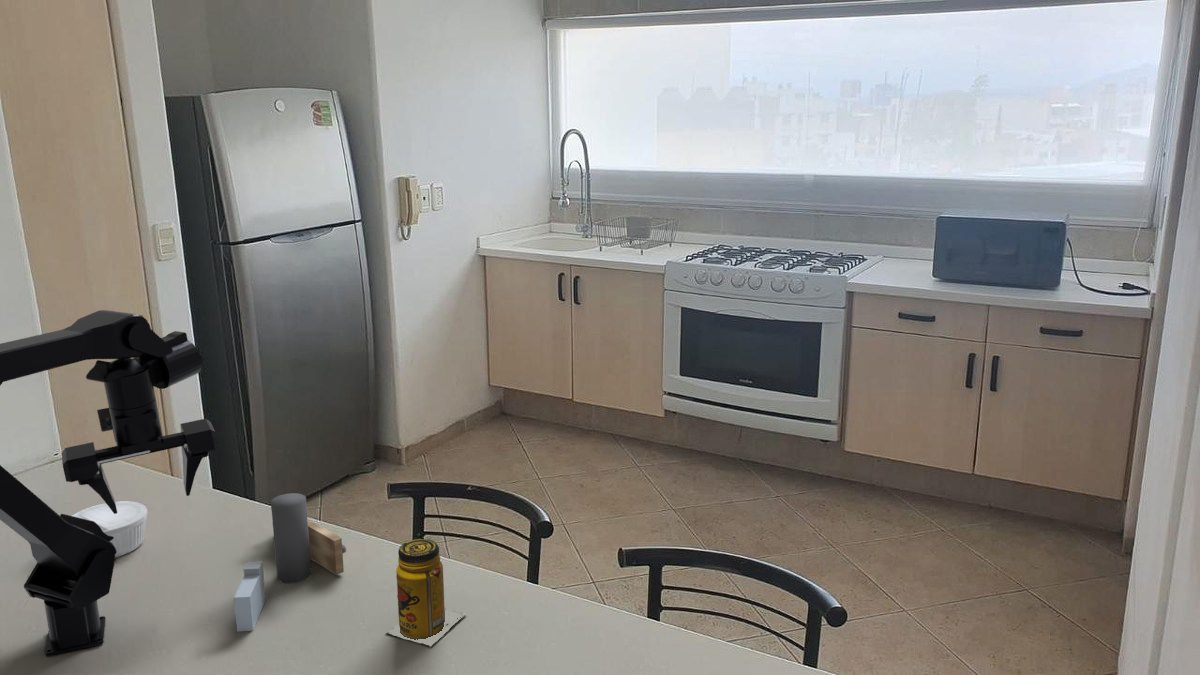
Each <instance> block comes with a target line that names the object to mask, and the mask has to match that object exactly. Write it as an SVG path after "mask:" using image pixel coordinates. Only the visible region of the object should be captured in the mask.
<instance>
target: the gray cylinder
mask: <svg viewBox="0 0 1200 675" xmlns="http://www.w3.org/2000/svg"><path fill="white" fill-rule="evenodd" d="M270 506H271V517H272V518H271V519H272V530H273V540H274V541H273V542H274V543H273V545H274V556H275V564H276V565H275V567H276V576H277V578H278V579H277V581H279V582H280V581H281V582H280V583H284V584H295V583H300V582H303V581H306V580H307V579H309V577H310V576H311V575H312V562H311V559H310V546H309V532H308V520H309V519H308V518H309V517H308V508H307V497H306V496H305V494H301V493H297V492H296V493H294V492H292V493H284V494H281V495H278V496H275V497H273V498H272V499H271V500H270Z"/></svg>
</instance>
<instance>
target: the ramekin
mask: <svg viewBox="0 0 1200 675" xmlns="http://www.w3.org/2000/svg"><path fill="white" fill-rule="evenodd" d="M115 504H116V508H117V514H114V513H113V512H112V510H111V509H110V508H109V506H108V505H107V504H106V503H100V504H96V505H93V506H90V507H87V508H84V509H82V510H80V511H78V512H76V513H74V514H73V515H72V516H74V517H78V518H82V519H86V520H90V521H94V522H95V523H96V524H97V525H99V527H100V528H101V529H102V531H103V532H104V533H105V534H107V535H109V536H113V537H114V539H113V540H111V541H110V542H111V543H112V544H113V545H114V546H115V548H116V551H117V553H116V554H115V558H119V557H121V556H124V555H127V554H129V553H131V552H133V551H134V550H136V549H137V548H139V547H140V546H141V544H142V543H143V542H144V540H145V537H146V526H147V518H148V507H146V506H145V505H144V504H142V503H140V502H136V501H130V500H127V501H126V500H122V501H121V500H120V501H115Z"/></svg>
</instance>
